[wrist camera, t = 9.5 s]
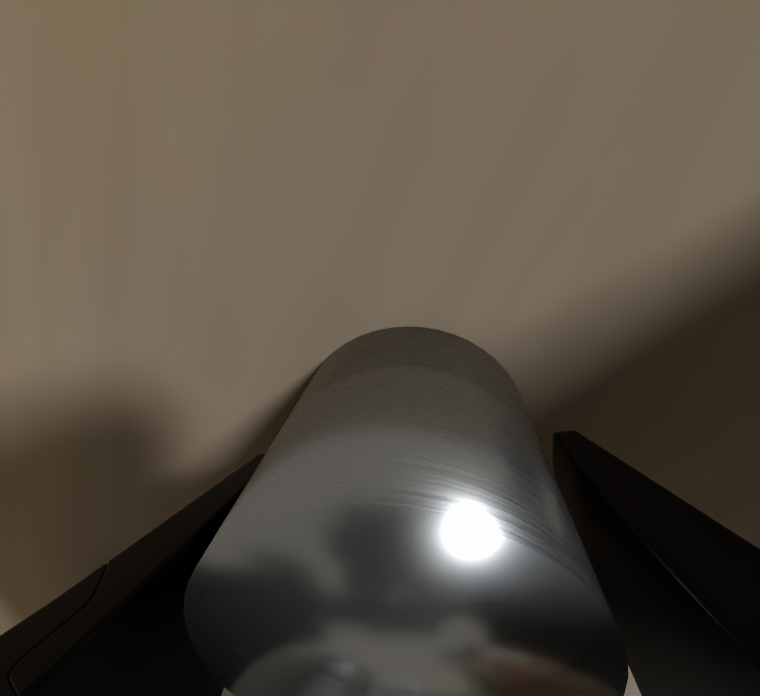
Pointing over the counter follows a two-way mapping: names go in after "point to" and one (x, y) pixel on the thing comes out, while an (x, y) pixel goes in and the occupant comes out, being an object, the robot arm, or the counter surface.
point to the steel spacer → (404, 543)
